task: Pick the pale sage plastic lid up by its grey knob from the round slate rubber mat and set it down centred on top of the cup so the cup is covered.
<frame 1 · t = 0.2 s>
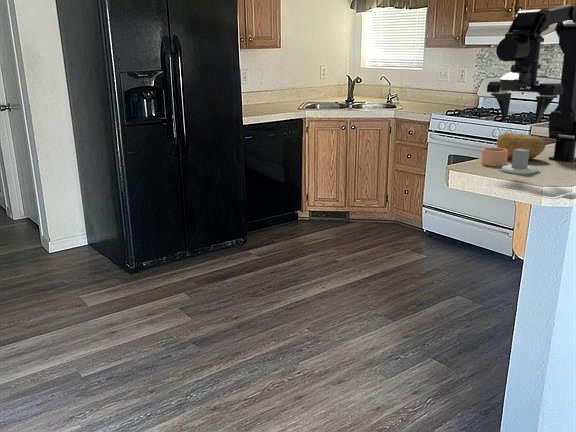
hand: (520, 121, 149), 14 cm above the table, tool pointing down, fingers open, 9 cm apart
cup: (493, 164, 163), on the table
lid: (519, 170, 153), resting on mat
potato: (518, 160, 170), on the table
mat: (518, 172, 153), on the table
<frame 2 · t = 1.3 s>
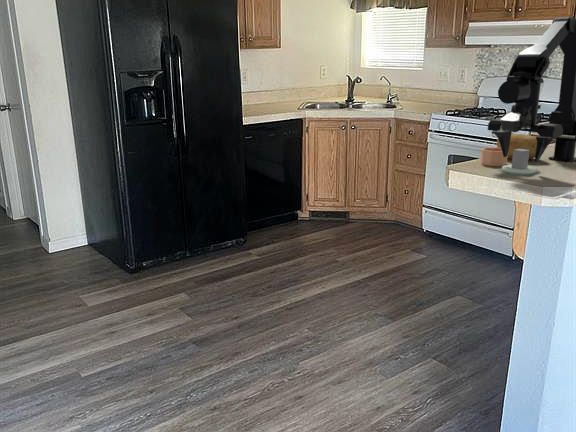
hand: (520, 159, 152), 4 cm above the table, tool pointing down, fingers open, 9 cm apart
nothing on the table moved.
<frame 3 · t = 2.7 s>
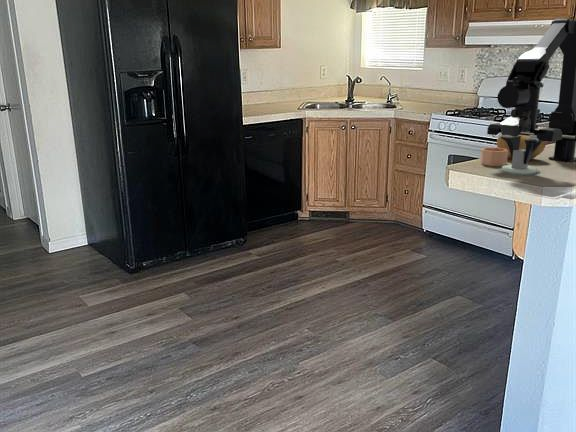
hand: (519, 163, 152), 3 cm above the table, tool pointing down, fingers closed on lid, 3 cm apart
lid: (519, 170, 153), resting on mat, touching gripper
everything else where it was.
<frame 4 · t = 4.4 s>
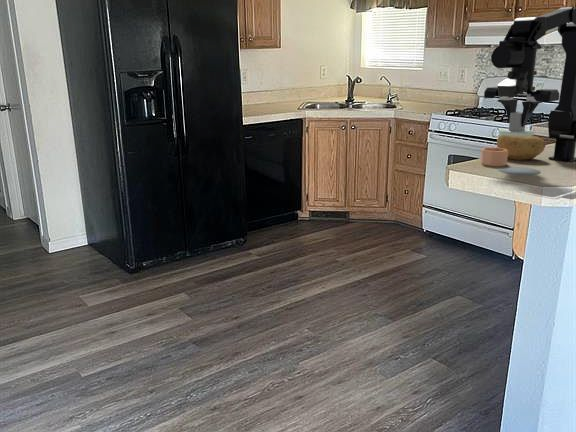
hand: (517, 126, 152), 12 cm above the table, tool pointing down, fingers closed on lid, 3 cm apart
lid: (516, 133, 153), point 10 cm above the table, touching gripper
everything else where it was.
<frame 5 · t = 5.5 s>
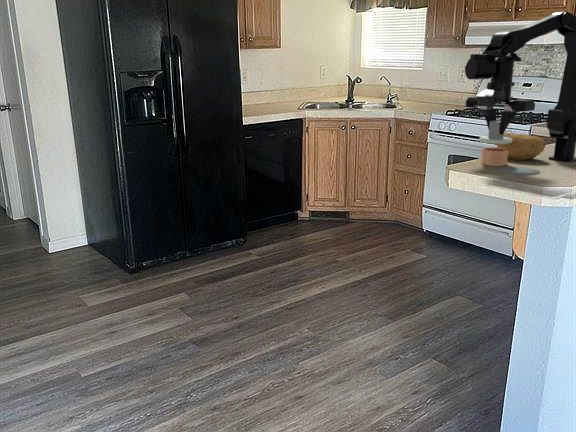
hand: (496, 134, 161), 9 cm above the table, tool pointing down, fingers closed on lid, 3 cm apart
lid: (495, 141, 161), point 7 cm above the table, touching gripper
everything else where it was.
when the fingers open (8 cm above the table, at t = 6.3 s): lid drops 1 cm, resting on cup.
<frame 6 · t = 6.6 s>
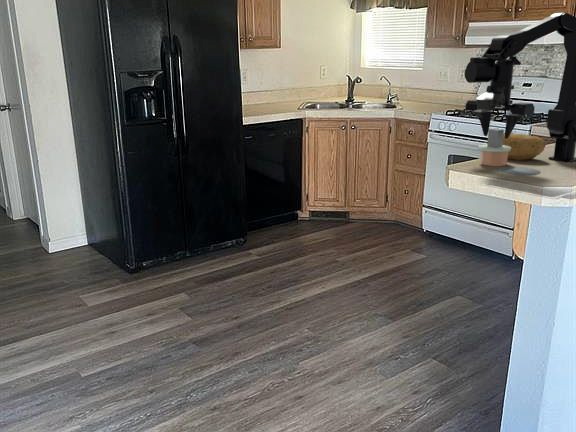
hand: (495, 137, 161), 8 cm above the table, tool pointing down, fingers open, 6 cm apart
lid: (494, 149, 162), point 4 cm above the table, touching cup
everything else where it was.
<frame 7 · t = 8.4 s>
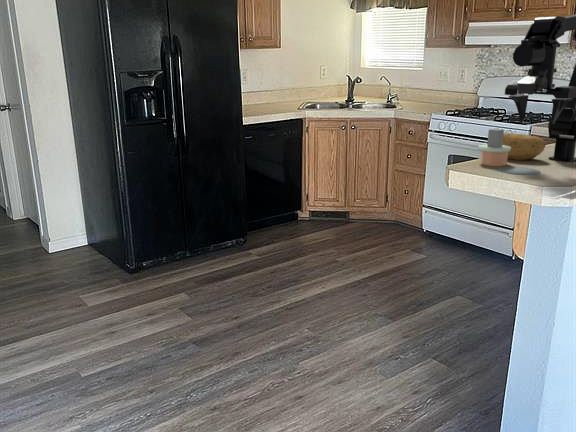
hand: (536, 122, 157), 13 cm above the table, tool pointing down, fingers open, 9 cm apart
nothing on the table moved.
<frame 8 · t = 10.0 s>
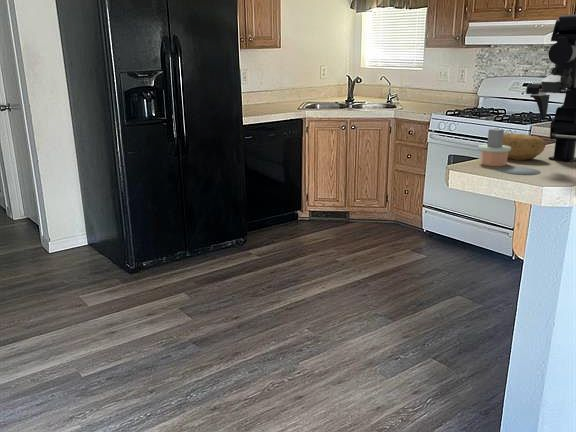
hand: (559, 121, 155), 13 cm above the table, tool pointing down, fingers open, 9 cm apart
nothing on the table moved.
at the end: lid 0.0 cm from the cup (horizontally); lid point 4.5 cm above the table; lid tilted 0° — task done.
